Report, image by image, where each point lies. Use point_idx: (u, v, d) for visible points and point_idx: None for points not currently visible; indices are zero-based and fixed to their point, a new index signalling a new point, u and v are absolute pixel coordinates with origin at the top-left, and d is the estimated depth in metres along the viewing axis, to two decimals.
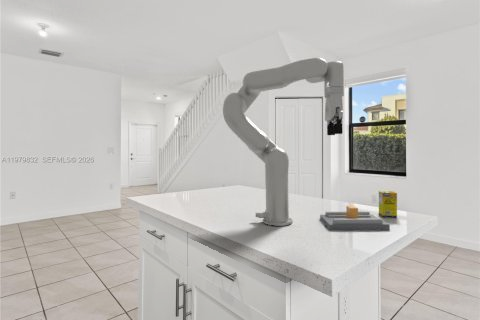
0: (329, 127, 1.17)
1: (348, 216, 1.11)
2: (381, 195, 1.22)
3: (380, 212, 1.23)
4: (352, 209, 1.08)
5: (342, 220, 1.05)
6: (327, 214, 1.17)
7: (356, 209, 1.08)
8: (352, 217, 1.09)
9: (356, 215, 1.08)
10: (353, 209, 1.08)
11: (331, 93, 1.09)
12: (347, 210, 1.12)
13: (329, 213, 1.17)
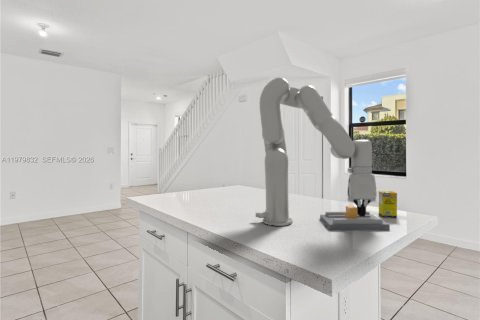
0: None
1: (347, 216, 1.11)
2: (381, 195, 1.22)
3: (380, 212, 1.23)
4: (351, 209, 1.08)
5: (342, 220, 1.05)
6: (327, 214, 1.17)
7: (355, 209, 1.08)
8: (351, 217, 1.09)
9: (355, 215, 1.08)
10: (352, 209, 1.08)
11: (371, 173, 1.08)
12: (346, 210, 1.12)
13: (329, 213, 1.17)
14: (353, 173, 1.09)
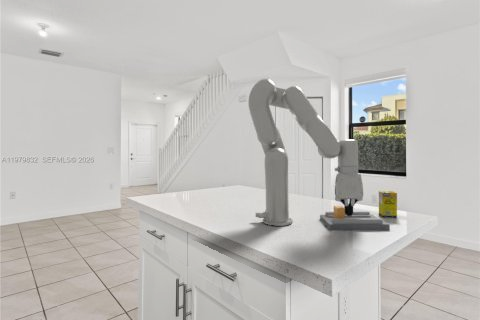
0: None
1: (335, 216, 1.11)
2: (381, 195, 1.22)
3: (380, 212, 1.23)
4: (339, 209, 1.09)
5: (342, 220, 1.05)
6: (327, 214, 1.17)
7: (343, 209, 1.09)
8: (339, 217, 1.09)
9: (343, 215, 1.09)
10: (340, 209, 1.09)
11: None
12: (334, 210, 1.12)
13: (329, 213, 1.17)
14: (340, 173, 1.09)
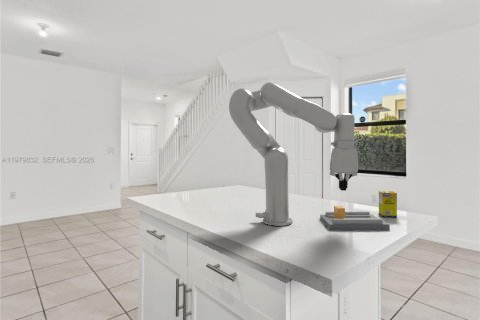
0: None
1: (335, 216, 1.11)
2: (381, 195, 1.22)
3: (380, 212, 1.23)
4: (339, 209, 1.09)
5: (342, 220, 1.05)
6: (327, 214, 1.17)
7: (343, 209, 1.09)
8: (339, 217, 1.09)
9: (343, 215, 1.09)
10: (340, 209, 1.09)
11: (353, 147, 1.08)
12: (335, 210, 1.12)
13: (329, 213, 1.17)
14: (335, 147, 1.09)
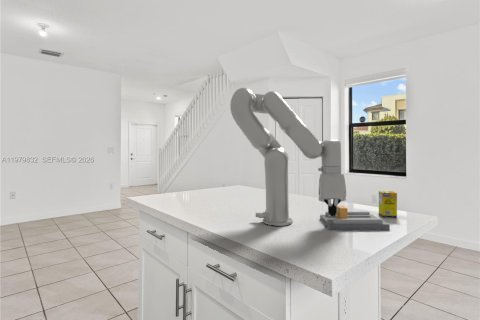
0: None
1: (338, 216, 1.11)
2: (381, 195, 1.22)
3: (380, 212, 1.23)
4: (342, 209, 1.09)
5: (342, 220, 1.05)
6: (327, 214, 1.17)
7: (346, 209, 1.09)
8: (342, 217, 1.09)
9: (346, 215, 1.09)
10: (343, 209, 1.09)
11: (340, 172, 1.09)
12: (337, 210, 1.12)
13: None
14: (323, 173, 1.10)
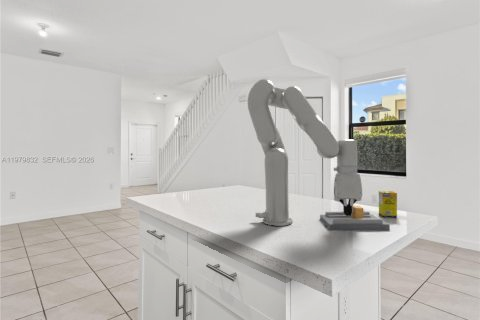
0: None
1: (353, 216, 1.11)
2: (381, 195, 1.22)
3: (380, 212, 1.23)
4: (357, 209, 1.08)
5: (342, 220, 1.05)
6: (327, 214, 1.17)
7: (361, 209, 1.08)
8: (357, 217, 1.08)
9: (361, 215, 1.08)
10: (358, 209, 1.08)
11: None
12: (352, 210, 1.12)
13: (329, 213, 1.17)
14: (339, 173, 1.09)
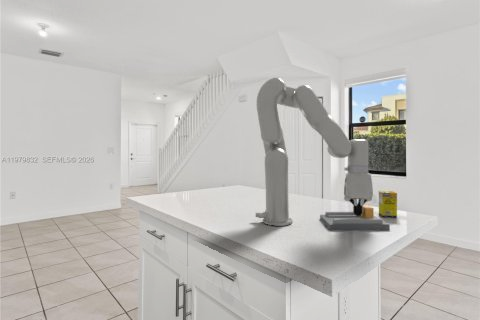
0: None
1: (363, 216, 1.10)
2: (381, 195, 1.22)
3: (380, 212, 1.23)
4: (367, 209, 1.08)
5: (342, 220, 1.05)
6: (327, 214, 1.17)
7: (371, 209, 1.08)
8: (367, 217, 1.08)
9: (371, 215, 1.08)
10: (368, 209, 1.08)
11: None
12: (362, 210, 1.11)
13: (329, 213, 1.17)
14: (350, 172, 1.09)
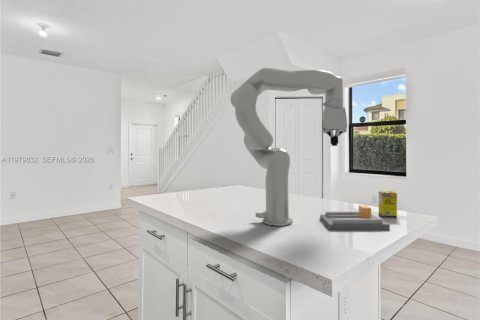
0: None
1: (361, 216, 1.11)
2: (381, 195, 1.22)
3: (380, 212, 1.23)
4: (365, 209, 1.08)
5: (342, 220, 1.05)
6: (327, 214, 1.17)
7: (369, 209, 1.08)
8: (365, 217, 1.08)
9: (369, 215, 1.08)
10: (366, 209, 1.08)
11: (342, 106, 1.21)
12: (360, 210, 1.12)
13: (329, 213, 1.17)
14: (326, 107, 1.22)
